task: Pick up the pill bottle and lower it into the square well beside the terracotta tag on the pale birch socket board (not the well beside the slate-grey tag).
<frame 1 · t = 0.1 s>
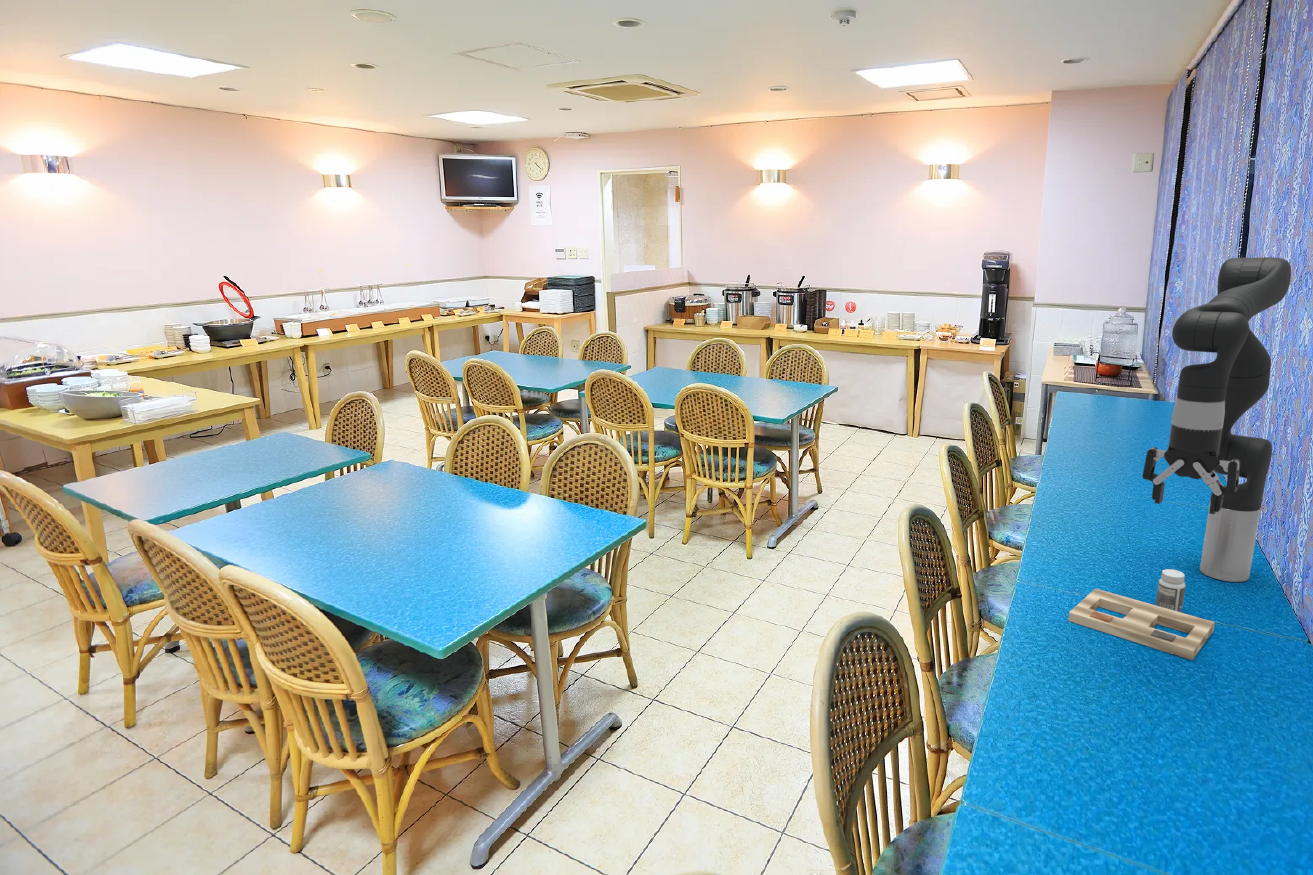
hand: (1184, 507, 138), 29 cm above the table, fingers open, 8 cm apart
pill bottle: (1168, 609, 160), on the table
socket board: (1139, 625, 154), on the table
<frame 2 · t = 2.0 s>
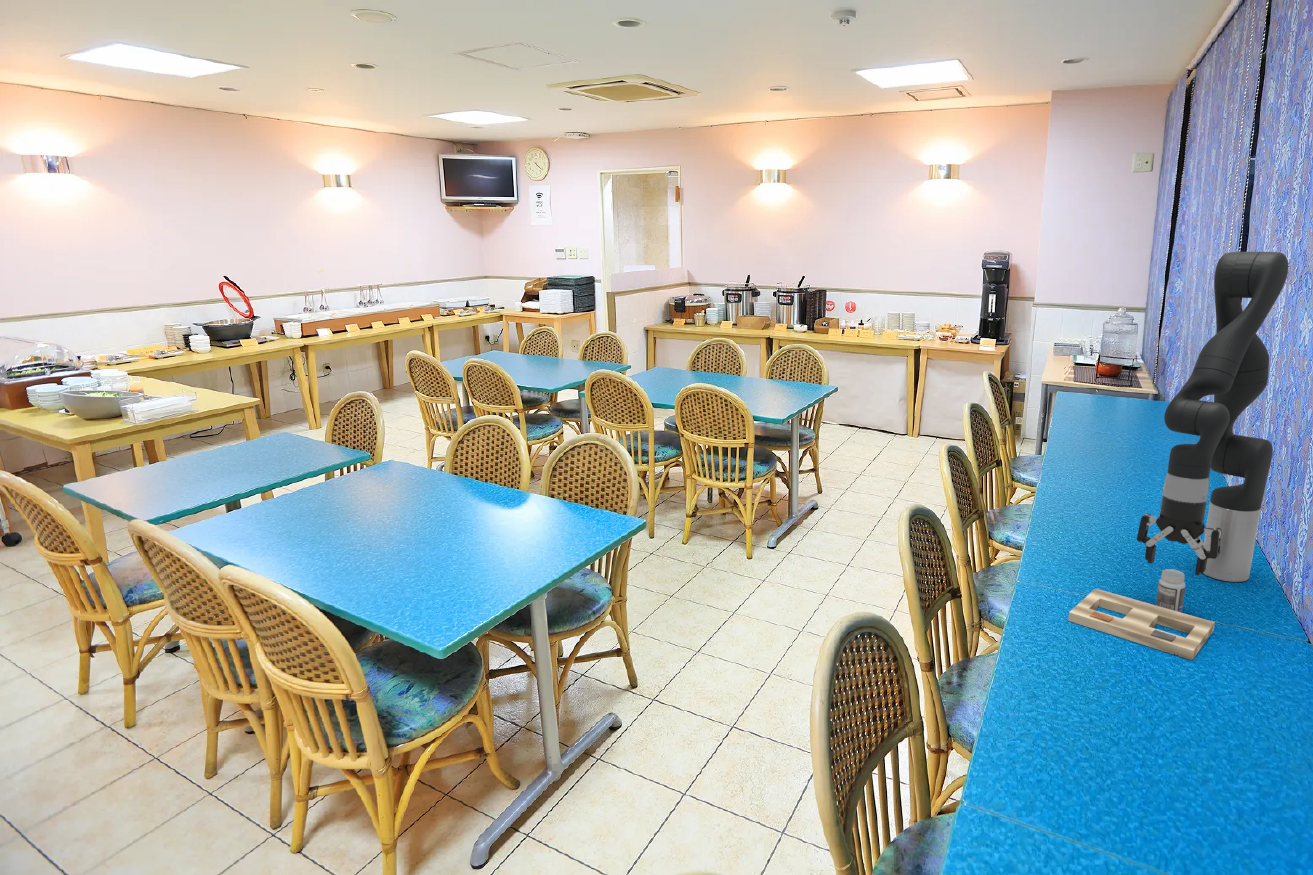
hand: (1173, 567, 157), 10 cm above the table, fingers open, 8 cm apart
nothing on the table moved.
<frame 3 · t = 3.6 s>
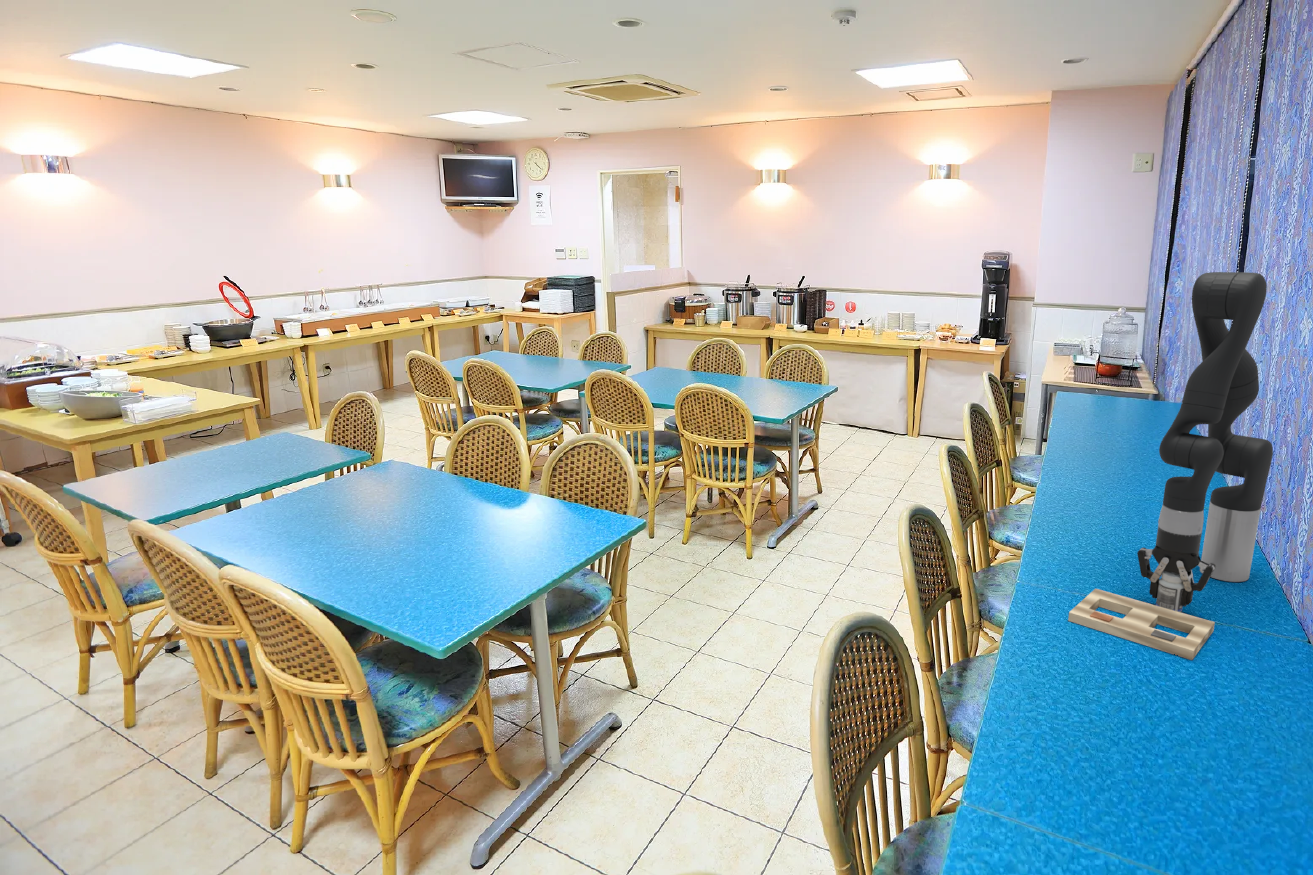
hand: (1169, 600, 159), 2 cm above the table, fingers closed on pill bottle, 4 cm apart
pill bottle: (1168, 609, 160), on the table, touching gripper
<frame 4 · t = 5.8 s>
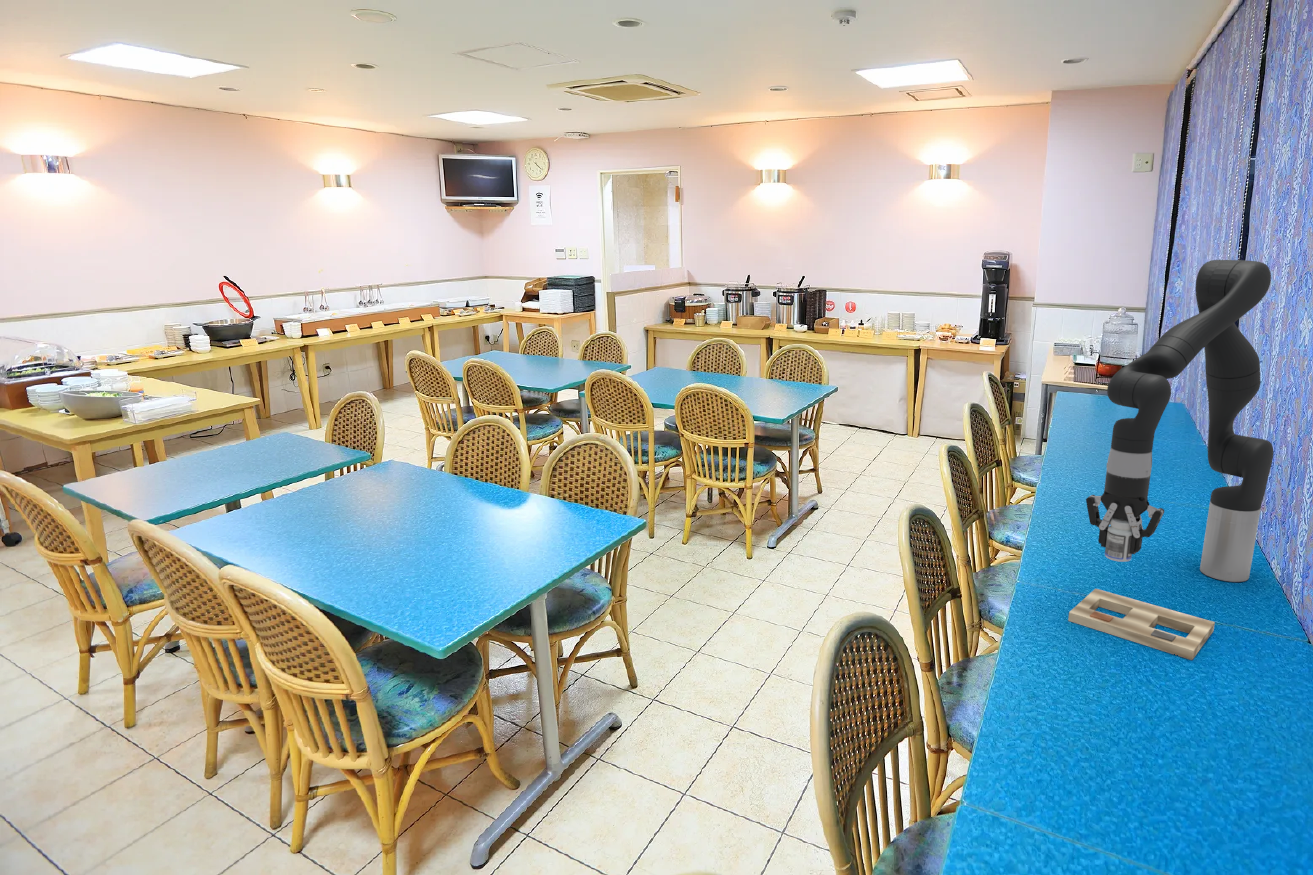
hand: (1118, 549, 154), 16 cm above the table, fingers closed on pill bottle, 4 cm apart
pill bottle: (1117, 558, 154), point 14 cm above the table, touching gripper
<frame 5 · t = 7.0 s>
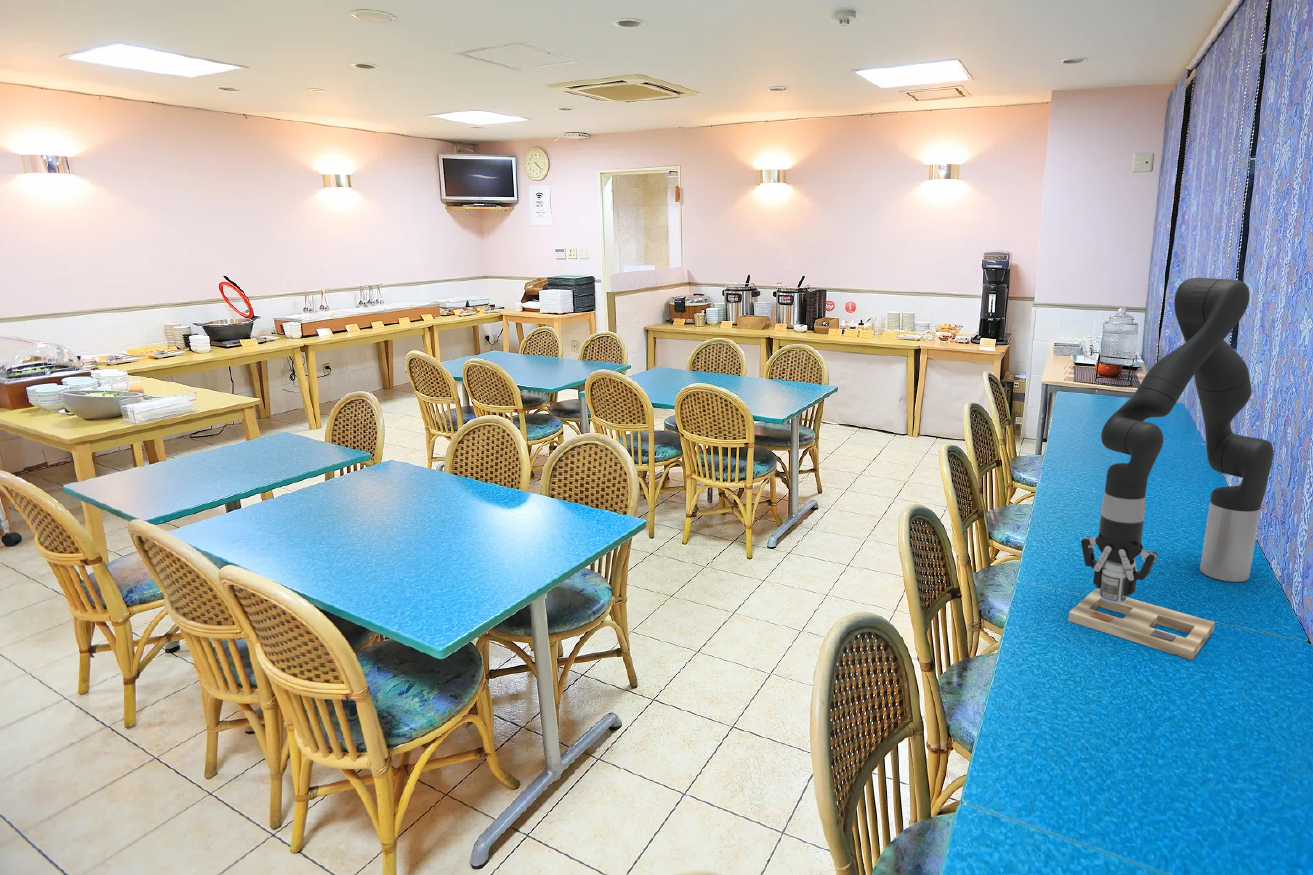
hand: (1113, 590, 156), 6 cm above the table, fingers closed on pill bottle, 4 cm apart
pill bottle: (1112, 599, 157), point 4 cm above the table, touching gripper
when the fingers open (3 cm above the table, at t = 8.0 s): pill bottle drops 1 cm, resting in socket board.
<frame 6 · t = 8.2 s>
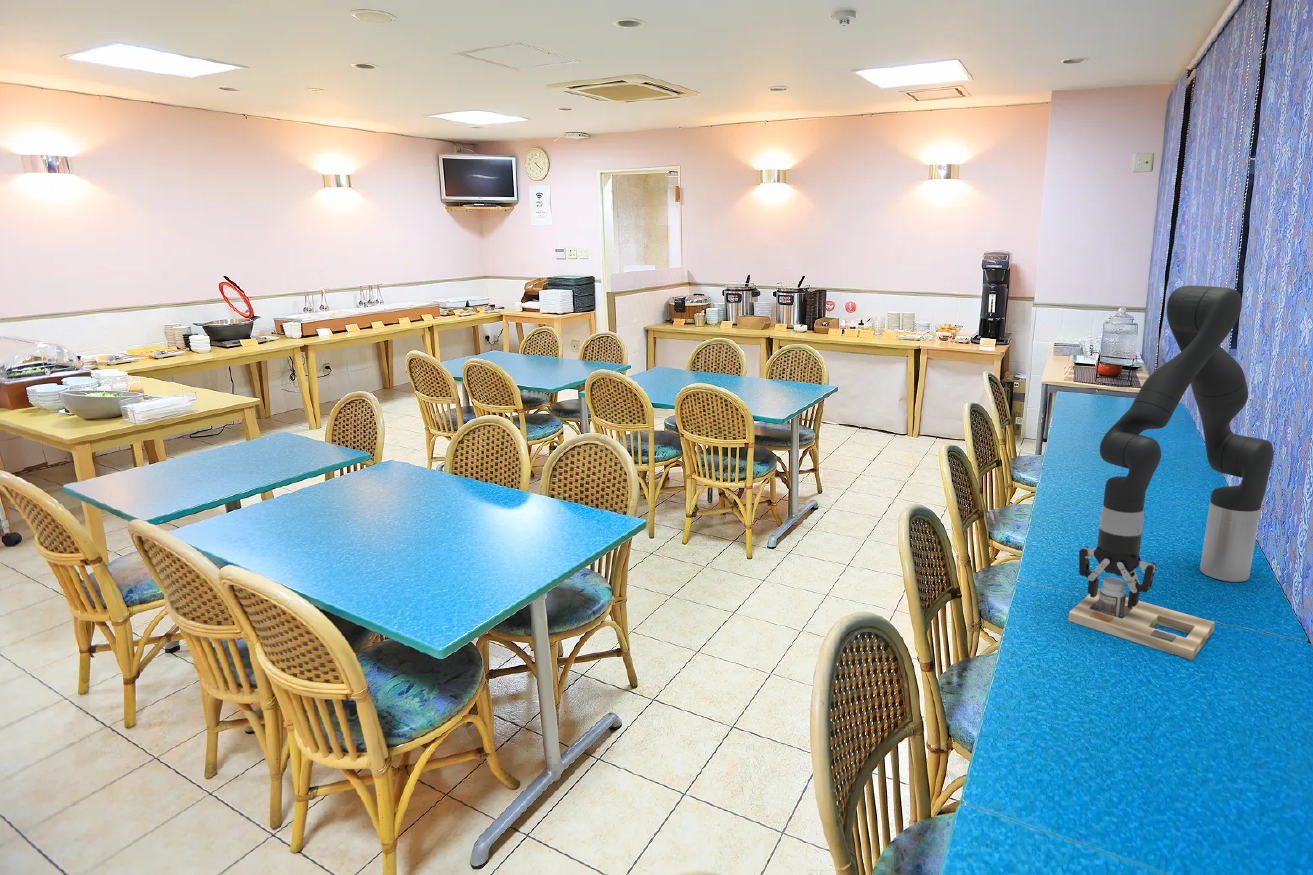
hand: (1111, 601, 157), 4 cm above the table, fingers open, 6 cm apart
pill bottle: (1109, 617, 158), resting in socket board
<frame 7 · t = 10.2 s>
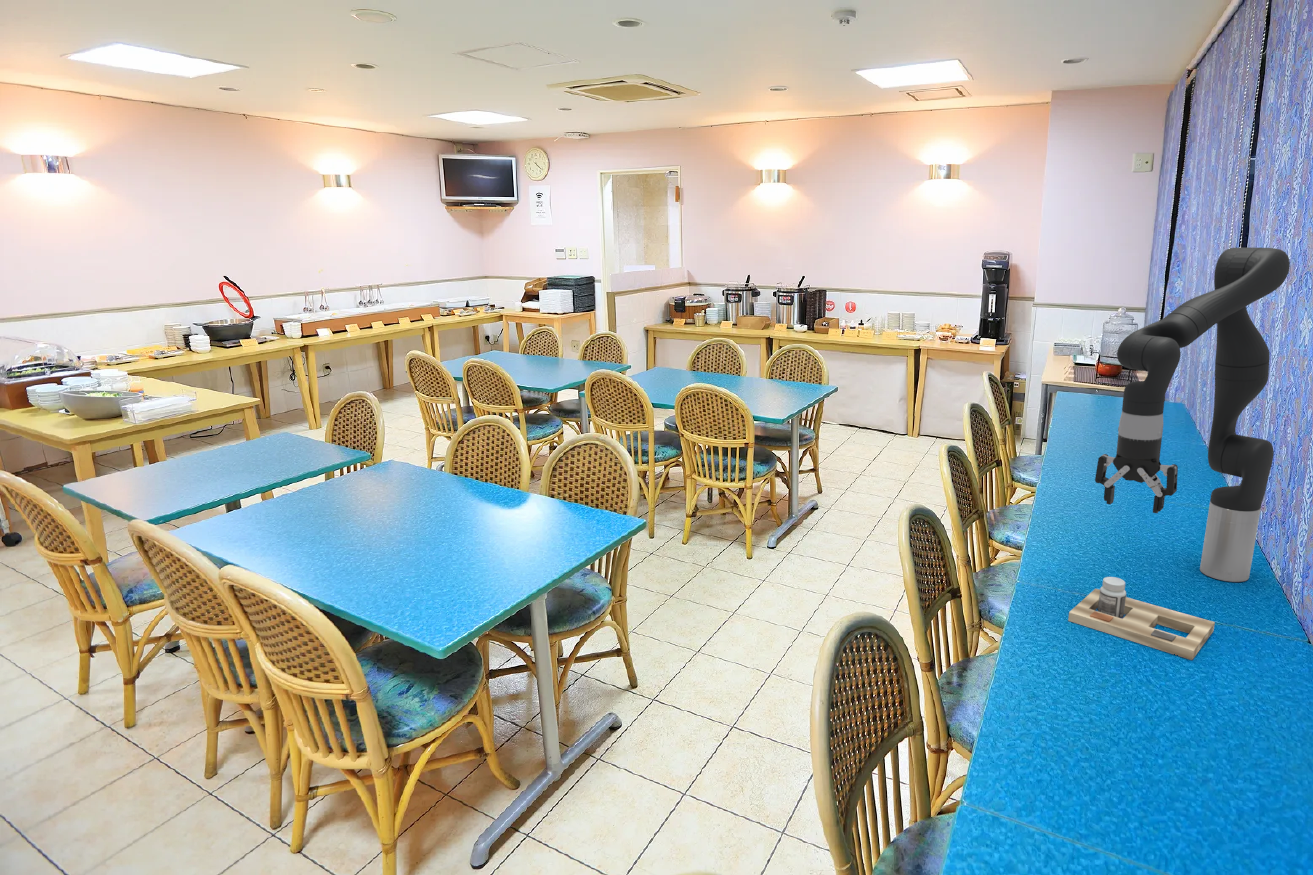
hand: (1132, 507, 156), 23 cm above the table, fingers open, 8 cm apart
nothing on the table moved.
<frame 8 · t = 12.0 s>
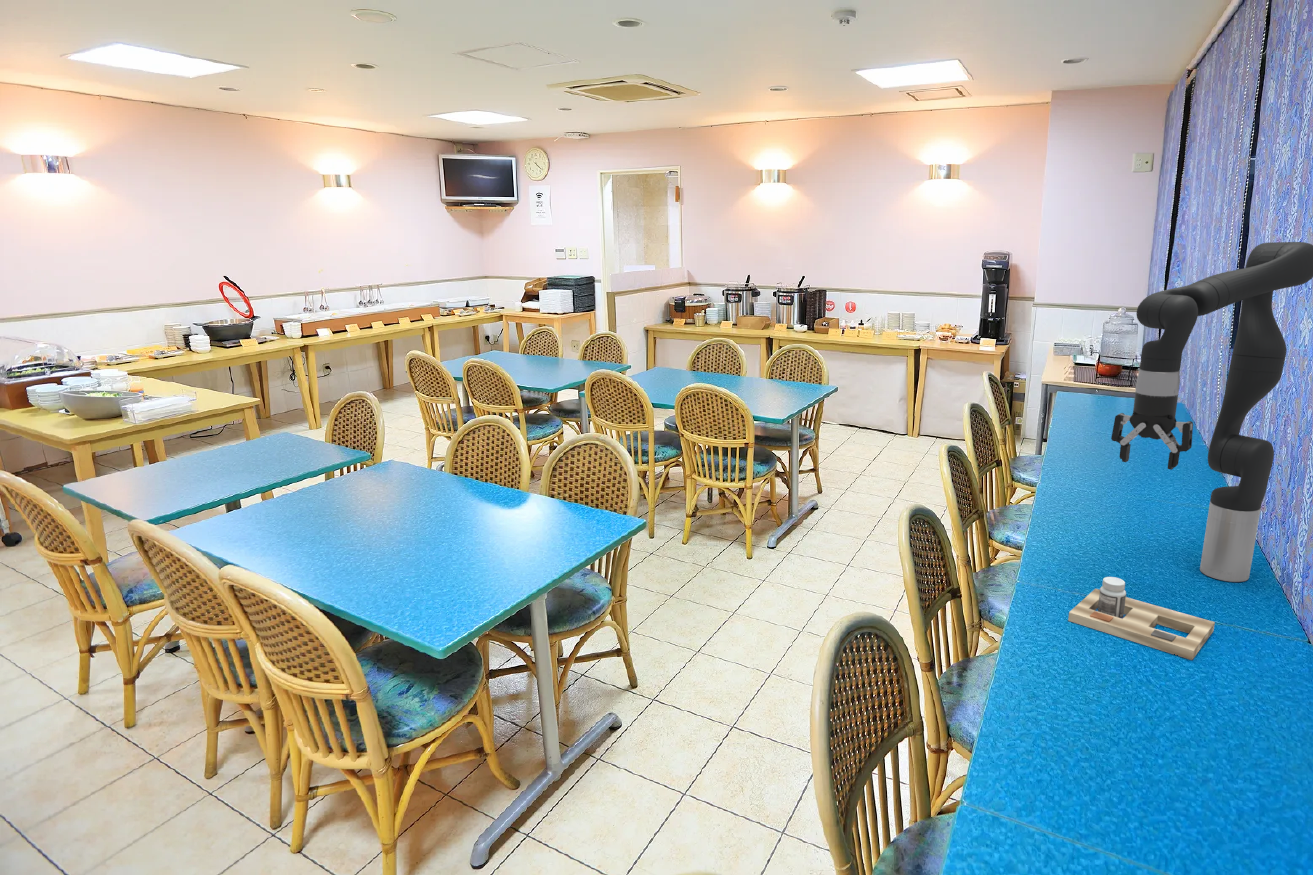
hand: (1147, 464, 160), 30 cm above the table, fingers open, 8 cm apart
nothing on the table moved.
at the end: pill bottle 0.1 cm from the target spot on the socket board, point 0.0 cm above the socket board's base; pill bottle tilted 0°; the gripper is holding nothing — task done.
